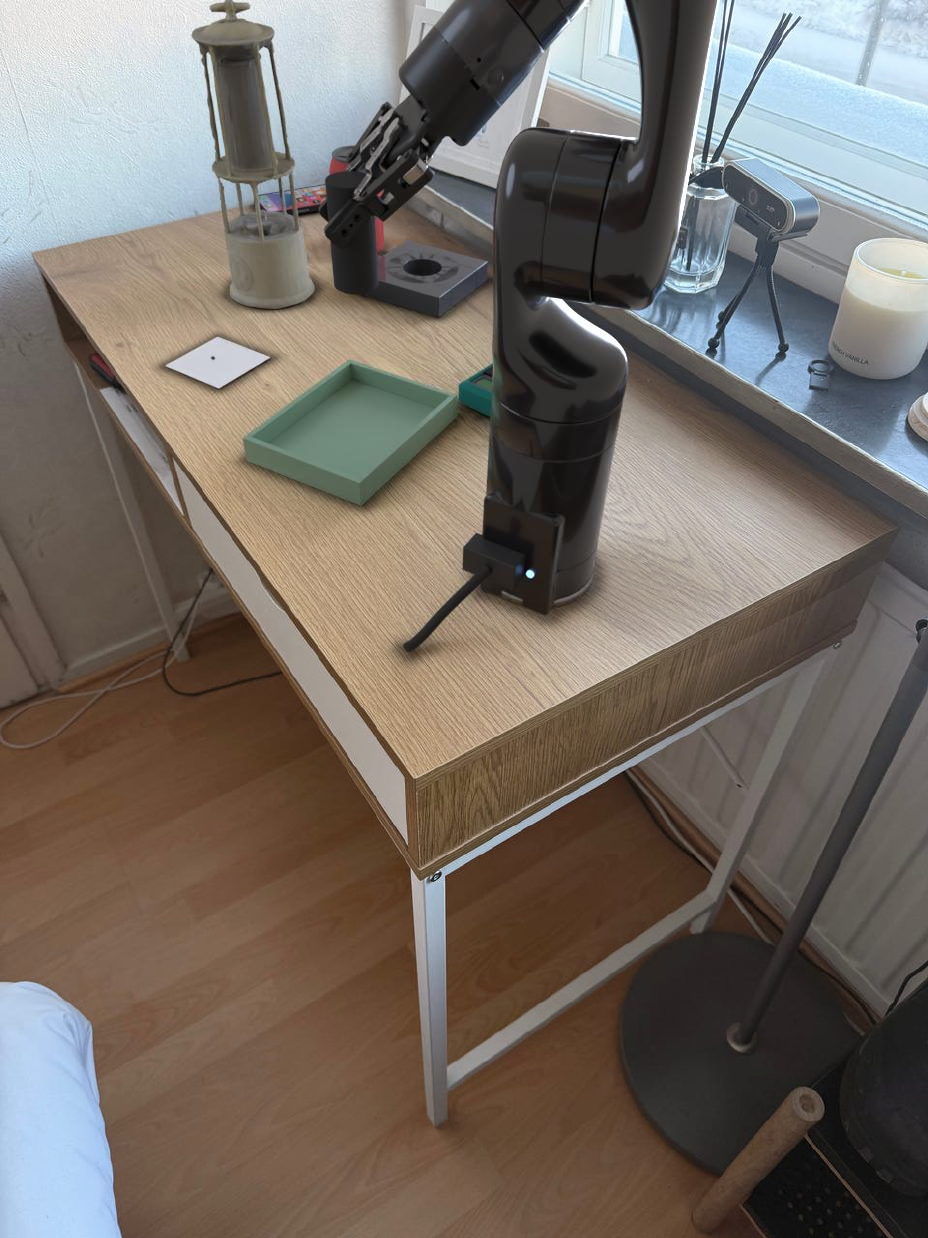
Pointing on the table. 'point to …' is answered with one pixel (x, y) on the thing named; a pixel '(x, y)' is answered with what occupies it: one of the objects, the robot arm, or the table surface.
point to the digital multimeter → (478, 391)
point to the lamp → (252, 164)
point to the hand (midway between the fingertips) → (329, 229)
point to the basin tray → (351, 430)
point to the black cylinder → (359, 258)
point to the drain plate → (427, 278)
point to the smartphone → (305, 200)
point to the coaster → (217, 362)
